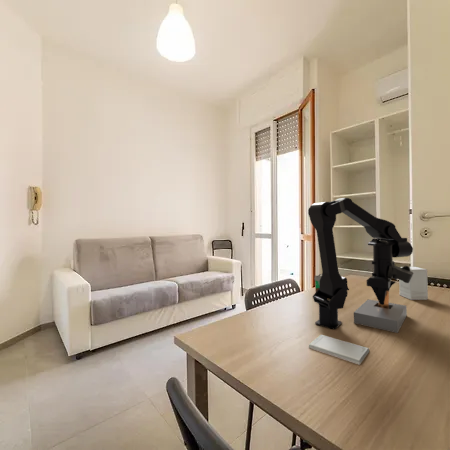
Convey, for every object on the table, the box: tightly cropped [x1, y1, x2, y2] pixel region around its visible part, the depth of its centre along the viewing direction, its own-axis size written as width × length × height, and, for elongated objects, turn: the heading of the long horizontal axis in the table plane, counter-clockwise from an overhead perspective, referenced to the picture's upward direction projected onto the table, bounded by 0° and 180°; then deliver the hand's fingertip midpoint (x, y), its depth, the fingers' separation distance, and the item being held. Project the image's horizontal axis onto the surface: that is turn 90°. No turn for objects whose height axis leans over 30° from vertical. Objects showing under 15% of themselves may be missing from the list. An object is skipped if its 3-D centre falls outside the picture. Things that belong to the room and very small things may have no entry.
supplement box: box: [398, 266, 429, 301], centre depth 110 cm, size 7×7×13 cm
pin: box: [379, 290, 390, 309], centre depth 90 cm, size 3×3×9 cm
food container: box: [314, 273, 322, 293], centre depth 114 cm, size 12×6×10 cm, turn 143°
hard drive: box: [308, 334, 370, 366], centre depth 67 cm, size 2×8×12 cm
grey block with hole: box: [353, 299, 408, 334], centre depth 87 cm, size 18×12×4 cm, turn 138°
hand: (383, 302), depth 90 cm, fingers open, 4 cm apart
